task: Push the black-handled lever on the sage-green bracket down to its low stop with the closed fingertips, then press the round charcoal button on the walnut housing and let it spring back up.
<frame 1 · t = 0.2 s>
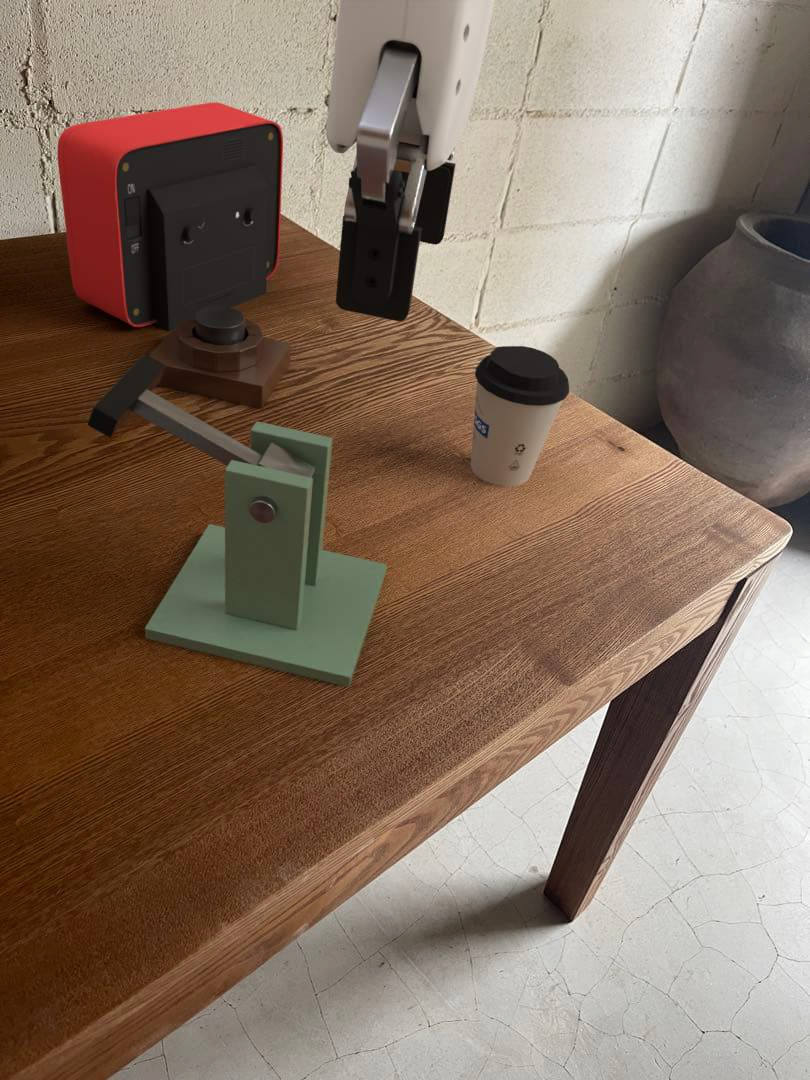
hand: (394, 272, 41), 21 cm above the table, tool pointing down, fingers open, 9 cm apart
bracket: (273, 611, 53), on the table
coffee cup: (498, 477, 68), on the table
button: (220, 326, 71), point 4 cm above the table, slide at 0.1 cm
button box: (220, 374, 74), on the table
alarm clock: (189, 298, 84), on the table
lever: (211, 441, 46), point 12 cm above the table, hinge at 22.0°
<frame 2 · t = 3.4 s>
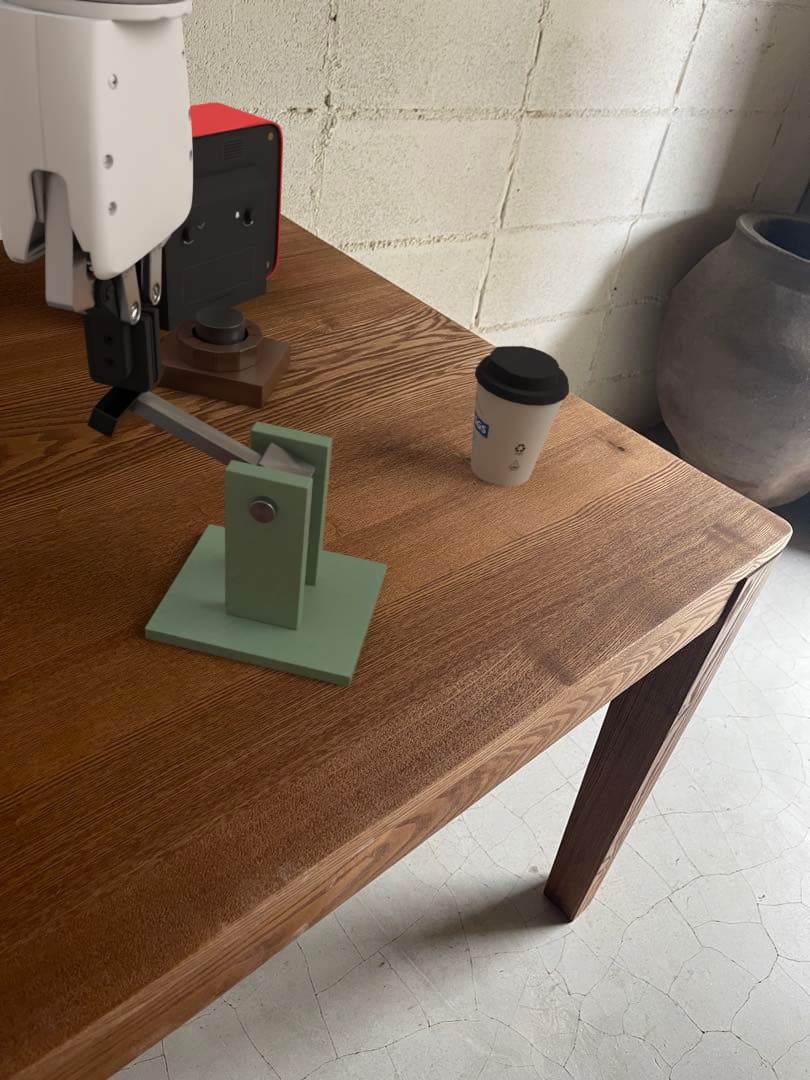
hand: (126, 379, 44), 14 cm above the table, tool pointing down, fingers closed
lever: (211, 441, 46), point 12 cm above the table, hinge at 21.7°, touching gripper
everything else where it was.
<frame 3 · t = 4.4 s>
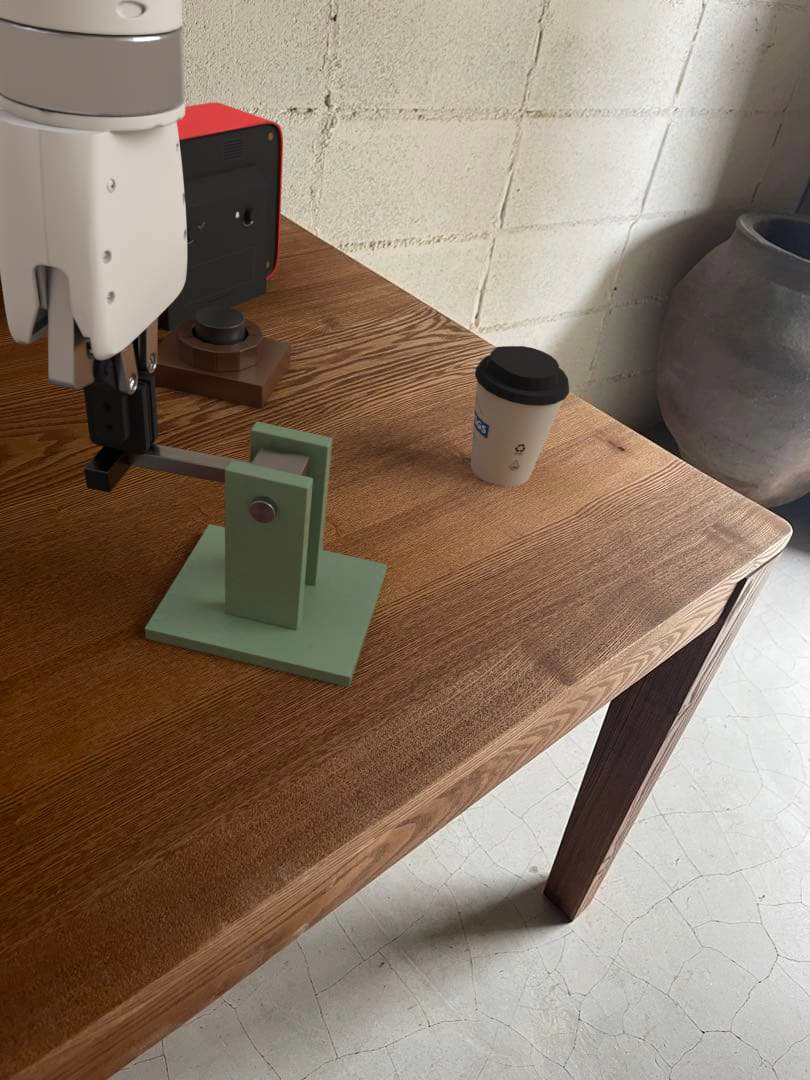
hand: (124, 441, 47), 10 cm above the table, tool pointing down, fingers closed
lever: (206, 466, 47), point 10 cm above the table, hinge at -2.5°, touching gripper
everything else where it was.
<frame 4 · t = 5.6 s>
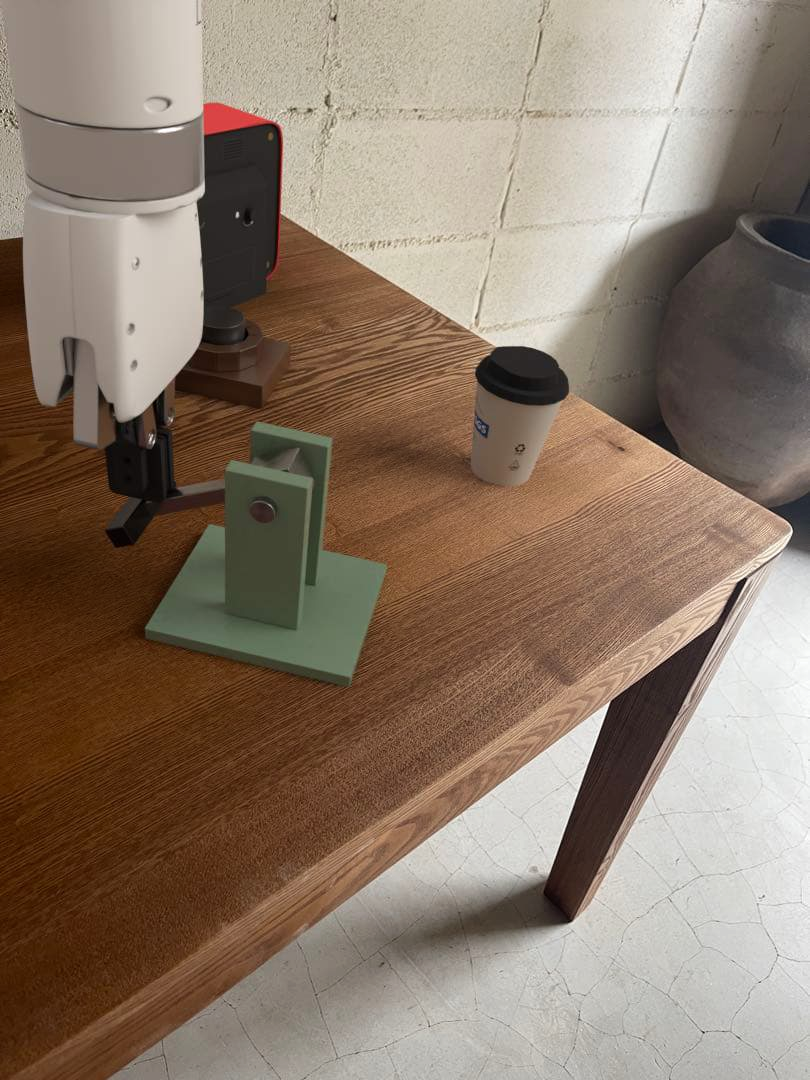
hand: (142, 489, 49), 7 cm above the table, tool pointing down, fingers closed
lever: (214, 492, 48), point 8 cm above the table, hinge at -26.4°, touching gripper
everything else where it was.
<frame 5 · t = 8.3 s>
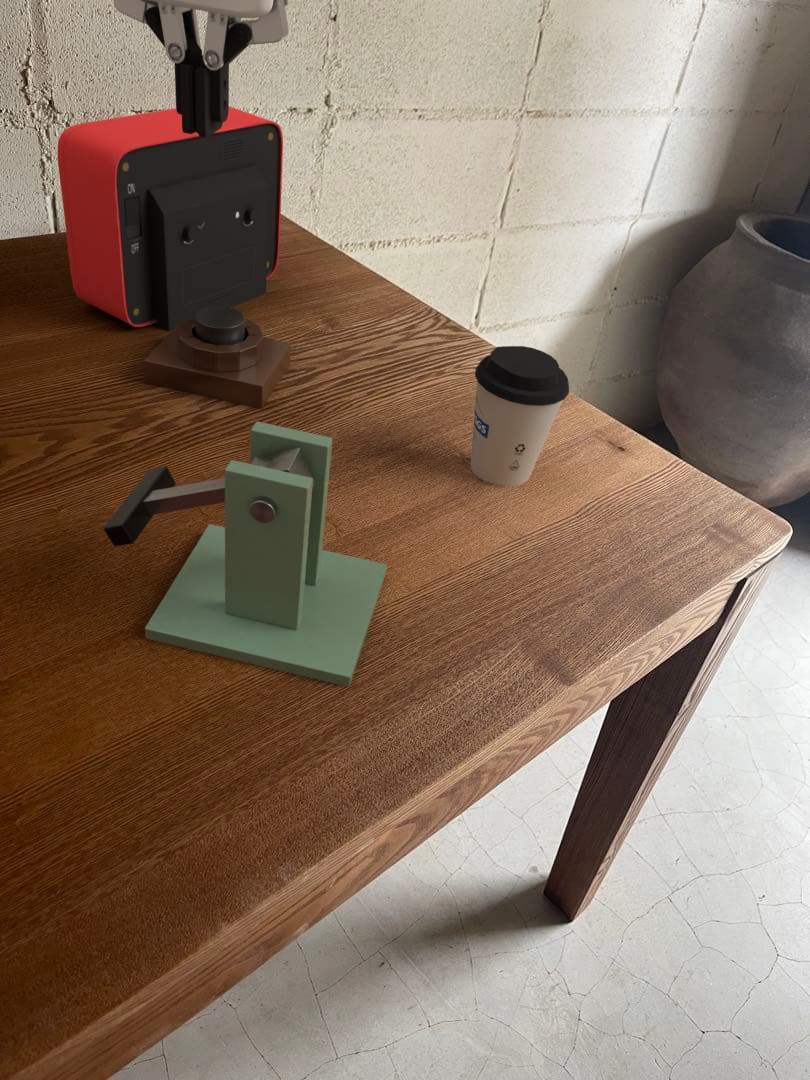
hand: (202, 129, 57), 21 cm above the table, tool pointing down, fingers closed
lever: (213, 492, 48), point 8 cm above the table, hinge at -25.7°
everything else where it was.
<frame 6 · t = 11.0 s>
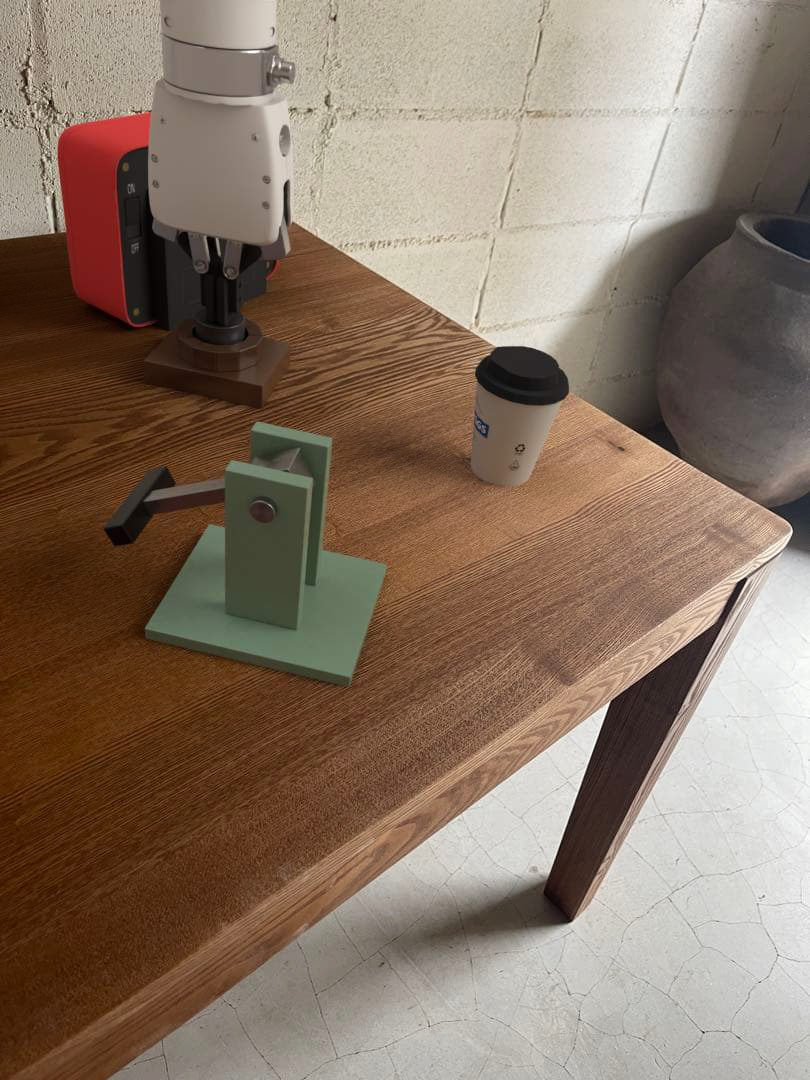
hand: (222, 316, 70), 5 cm above the table, tool pointing down, fingers closed
button: (220, 326, 71), point 4 cm above the table, slide at 0.1 cm, touching gripper
everything else where it was.
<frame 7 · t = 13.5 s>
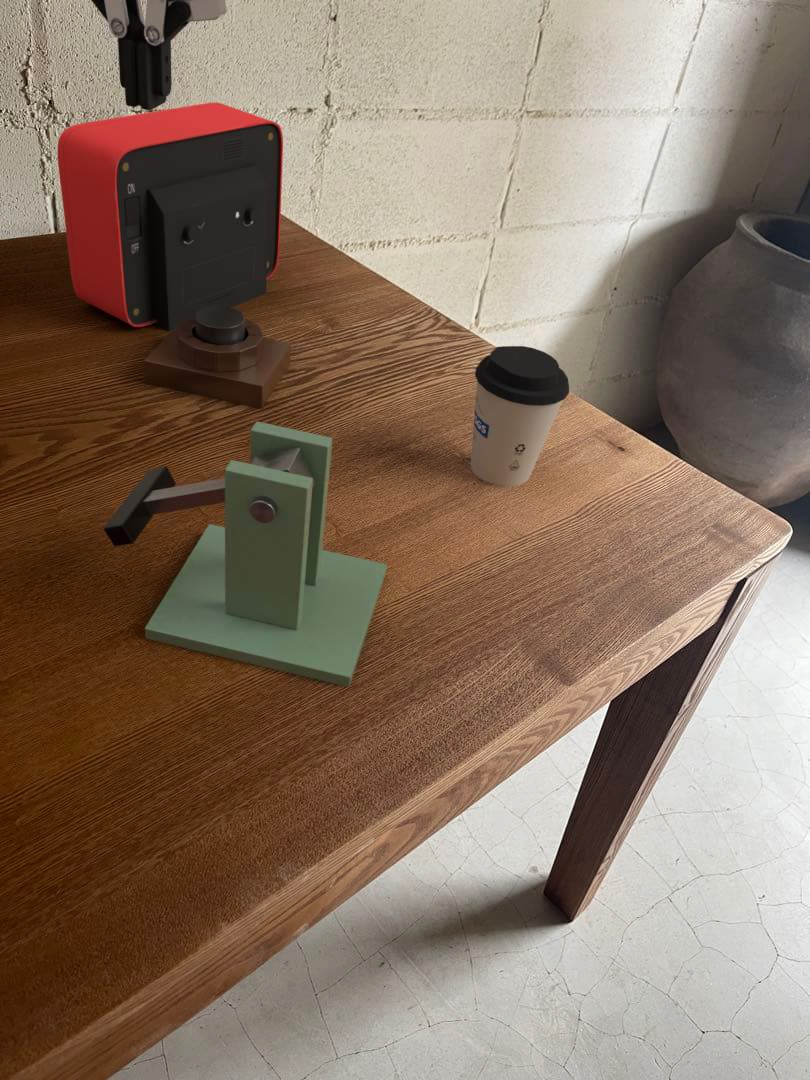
hand: (146, 103, 59), 21 cm above the table, tool pointing down, fingers closed
button: (220, 326, 71), point 4 cm above the table, slide at 0.1 cm
everything else where it was.
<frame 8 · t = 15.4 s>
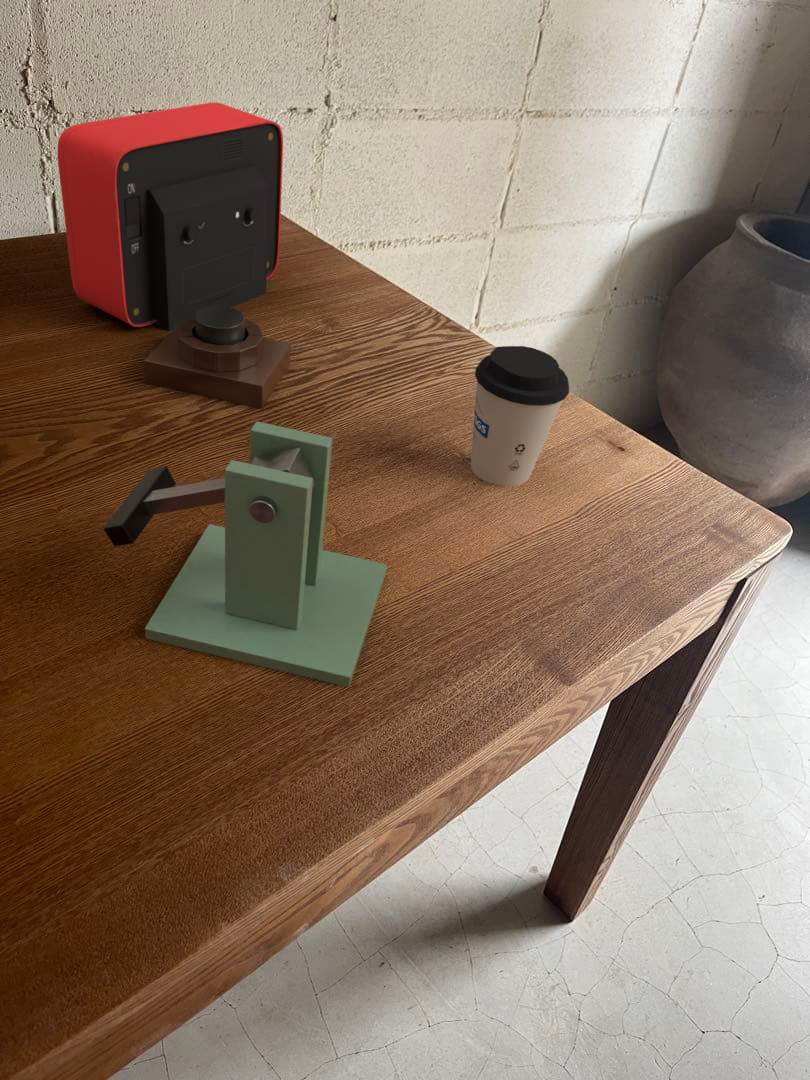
nothing on the table moved.
at the end: lever at -26° (first picture: +22°); button pushed in 1.1 cm at the most during the clip, back to where it started at the end; button slide at 0.1 cm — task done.
